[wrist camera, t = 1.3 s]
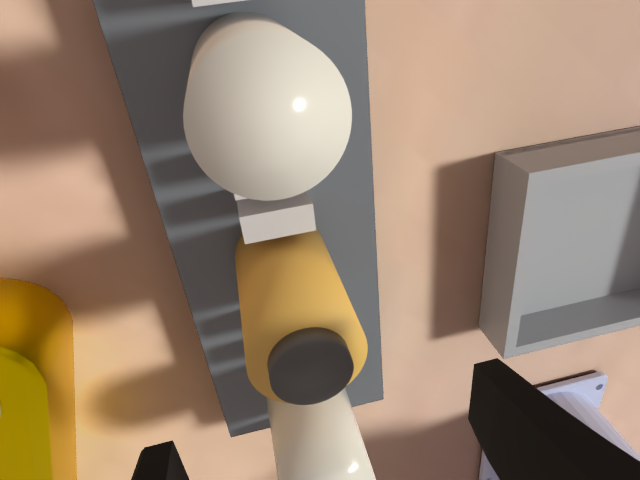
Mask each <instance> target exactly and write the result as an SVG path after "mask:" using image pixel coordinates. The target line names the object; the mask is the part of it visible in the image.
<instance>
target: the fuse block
mask: <svg viewBox="0 0 640 480" xmlns="http://www.w3.org/2000/svg"><path fill="white" fill-rule="evenodd" d="M93 3H94V6H95V9H96V12H97V16H98V19H99V22H100V25H101V28H102V31H103V35H104V38H105V41H106V44H107V47H108V50H109V54H110V57H111V60H112V63H113V66H114V69H115V72H116V76H117V79H118V82H119V85H120V88H121V91H122V95H123V98H124V101H125V104H126V107H127V110H128V114H129V117H130V120H131V123H132V126H133V129H134V133H135V136H136V139H137V142H138V145H139V148H140V152H141V155H142V158H143V161H144V164H145V167H146V170H147V174H148V177H149V180H150V183H151V186H152V189H153V193H154V196H155V199H156V202H157V205H158V208H159V212H160V215H161V218H162V221H163V224H164V227H165V231H166V234H167V237H168V240H169V243H170V246H171V250H172V253H173V256H174V259H175V262H176V265H177V269H178V272H179V275H180V278H181V281H182V284H183V287H184V291H185V294H186V297H187V300H188V303H189V306H190V310H191V313H192V316H193V319H194V322H195V325H196V329H197V332H198V335H199V338H200V341H201V344H202V348H203V351H204V354H205V357H206V360H207V363H208V367H209V370H210V373H211V376H212V379H213V382H214V385H215V389H216V392H217V395H218V398H219V401H220V404H221V408H222V411H223V414H224V417H225V420H226V423H227V427H228V430H229V433H230V436H231V437H234V436H238V435H242V434H246V433H250V432H254V431H258V430H262V429H266V428H270V420H269V413H268V406H267V399H266V396H264V395H262V394H261V393H260V392H259V391H257V390H256V389H255V388H254V386H253V385H252V384H251V382H250V380H249V378H248V375H247V370H246V362H245V352H244V343H243V333H242V323H241V313H240V304H239V294H238V284H237V274H236V265H235V249H236V245H237V242H238V240H239V238H240V237H241V235H242V234H243V238H244V243H245V244H249V243H254V242H259V241H265V240H270V239H275V238H280V237H285V236H290V235H295V234H300V233H305V232H310V231H315V230H316V228H317V230H318V231H319V233H320V235H321V236H322V239H323V241H324V243H325V246H326V248H327V250H328V252H329V255H330V257H331V259H332V261H333V264H334V266H335V268H336V270H337V273H338V275H339V277H340V279H341V282H342V284H343V286H344V288H345V291H346V293H347V295H348V297H349V300H350V302H351V304H352V306H353V309H354V311H355V313H356V315H357V318H358V320H359V322H360V325H361V327H362V329H363V331H364V334H365V336H366V339H367V344H368V352H367V358H366V361H365V364H364V366H363V367H362V369H361V371H360V372H359V374H358V375H357V376H356V377H355V379H354V380H353V381H352V382H351V383H350V384H348V385H347V386H346V387H345V389H346V392H347V395H348V398H349V401H350V404H351V407H354V406H358V405H362V404H366V403H370V402H374V401H378V400H382V399H383V378H382V357H381V336H380V315H379V293H378V272H377V251H376V230H375V209H374V188H373V167H372V145H371V124H370V103H369V82H368V61H367V40H366V19H365V0H93ZM245 11H246V12H255V13H259V14H263V15H265V16H268V17H270V18H272V19H274V20H275V21H277V22H278V23H280V24H282V25H283V26H285V27H286V28H288V29H289V30H291V31H292V32H294V33H295V34H297V35H298V36H300V37H302V38H303V39H305V40H306V41H308V42H309V43H311V44H312V45H314V46H315V47H317V48H318V49H319V50H321V51H322V52H323V53H324V54H325V55H326V56H327V57H328V58H329V59H330V60H331V61H332V62H333V64H334V65H335V66H336V67H337V69H338V70H339V72H340V74H341V76H342V77H343V79H344V81H345V84H346V86H347V89H348V92H349V96H350V100H351V108H352V124H351V132H350V136H349V140H348V143H347V146H346V148H345V151H344V153H343V155H342V157H341V158H340V160H339V162H338V163H337V165H336V166H335V167H334V169H333V170H332V171H331V172H330V173H329V174H328V176H327V177H325V178H324V179H323V180H322V181H321V182H320V183H318V184H317V185H315V186H314V187H313V188H311V189H309V190H307V191H305V192H303V193H301V194H299V195H296V196H293V197H290V198H286V199H281V200H270V201H262V200H254V199H249V198H245V197H241V196H239V195H236V194H233V193H231V192H229V191H228V190H226V189H224V188H222V187H221V186H219V185H218V184H216V183H215V182H214V181H213V180H212V179H211V178H209V177H208V176H207V175H206V174H205V172H204V171H203V170H202V169H201V168H200V166H199V165H198V163H197V162H196V160H195V159H194V157H193V155H192V153H191V151H190V149H189V146H188V143H187V140H186V136H185V131H184V124H183V110H184V101H185V95H186V89H187V83H188V77H189V71H190V66H191V60H192V55H193V51H194V48H195V45H196V43H197V41H198V39H199V37H200V36H201V34H202V33H203V32H204V30H205V29H206V28H207V27H208V26H209V25H210V24H211V23H213V22H214V21H215V20H217V19H219V18H221V17H222V16H225V15H228V14H230V13H235V12H245Z"/></svg>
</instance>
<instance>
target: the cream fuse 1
mask: <svg viewBox="0 0 640 480" xmlns="http://www.w3.org/2000/svg"><path fill="white" fill-rule="evenodd" d="M183 124H184V131H185V136H186V140H187V143H188V146H189V149H190V151H191V153H192V155H193V157H194V159H195V160H196V162H197V163H198V165H199V166H200V168H201V169H202V170H203V171H204V172H205V174H206V175H207V176H208V177H209V178H211V179H212V180H213V181H214V182H215V183H216V184H218V185H219V186H221V187H222V188H224V189H226V190H228V191H229V192H231V193H233V194H236V195H239V196H241V197H245V198H249V199H254V200H262V201H270V200H281V199H286V198H290V197H293V196H296V195H299V194H301V193H303V192H305V191H307V190H309V189H311V188H313V187H314V186H315V185H317V184H318V183H320V182H321V181H322V180H323V179H324V178H325V177H327V176H328V174H329V173H330V172H331V171H332V170H333V169H334V167H335V166H336V165H337V163H338V162H339V160H340V158H341V157H342V155H343V153H344V151H345V148H346V146H347V143H348V140H349V136H350V132H351V124H352V108H351V100H350V96H349V92H348V89H347V86H346V84H345V81H344V79H343V77H342V76H341V74H340V72H339V70H338V69H337V67H336V66H335V65H334V64H333V62H332V61H331V60H330V59H329V58H328V57H327V56H326V55H325V54H324V53H323V52H322V51H321V50H319V49H318V48H317V47H315V46H314V45H312V44H311V43H309V42H308V41H306V40H305V39H303V38H302V37H300V36H298V35H297V34H295V33H294V32H292V31H291V30H289V29H288V28H286V27H285V26H283V25H282V24H280V23H278V22H277V21H275V20H274V19H272V18H270V17H268V16H265V15H263V14H259V13H255V12H246V11H245V12H235V13H230V14H228V15H225V16H222V17H221V18H219V19H217V20H215V21H214V22H213V23H211V24H210V25H209V26H208V27H207V28H206V29H205V30H204V32H203V33H202V34H201V36H200V37H199V39H198V41H197V43H196V45H195V48H194V51H193V55H192V60H191V66H190V71H189V77H188V83H187V89H186V95H185V101H184V110H183Z"/></svg>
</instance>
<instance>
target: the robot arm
mask: <svg viewBox="0 0 640 480" xmlns="http://www.w3.org/2000/svg"><path fill="white" fill-rule="evenodd" d="M607 380H608V377H607V376H606V375H605V374H604V373H603V372H596V373H592V374H588V375H584V376H580V377H576V378H573V379H569V380H565V381H561V382H557V383H553V384H549V385H545V386H542V387H538V388H536V387H534V386H533V385H532V384H530V383H529V382H528V381H526V380H525V379H524V378H523V377H521V376H520V375H519V374H517V373H516V372H515V371H514V370H512V369H511V368H510V367H508V366H507V365H506V364H504V363H503V362H502V361H500V360H499V359H498V358H497V359H493V360H489V361H485V362H481V363H477V364H474V371H473V380H472V389H471V398H470V407H469V416H468V420H469V422H470V424H471V426H472V428H473V430H474V433H475V435H476V437H477V439H478V441H479V443H480V445H481V447H482V457H481V465H480V473H479V480H640V455H639V454H638V453H637V452H636V451H635V450H634V449H633V447H632V446H631V445H630V444H629V443H628V442H627V441H626V440H625V439H624V438H623V436H622V435H621V434H620V433H619V432H618V431H617V430H616V429H615V428H614V426H613V425H612V424H611V423H610V422H609V421H608V420H607V419H606V418H605V416H604V415H603V414H602V413H601V412H600V411H599V410H598V409H599V406H600V403H601V399H602V396H603V393H604V390H605V386H606V383H607ZM131 480H189V478H188V475H187V473H186V471H185V468H184V466H183V464H182V461H181V459H180V456H179V454H178V452H177V449H176V447H175V445H174V442H173V441H169V442H165V443H161V444H157V445H153V446H149V447H145V448H144V449H143V450H142V451H141V453H140V456H139V459H138V462H137V465H136V468H135V471H134V473H133V476H132V479H131Z"/></svg>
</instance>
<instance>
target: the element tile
mask: <svg viewBox="0 0 640 480" xmlns="http://www.w3.org/2000/svg"><path fill="white" fill-rule="evenodd" d="M0 480H77V468H76V428H75V389H74V350H73V320H72V318H71V315H70V312H69V311H68V309H67V307H66V306H65V304H64V302H63V301H62V299H60V298H59V297H58V296H56V295H55V294H54V293H52V292H51V291H50V290H48V289H46V288H44V287H41V286H38V285H35V284H33V283H30V282H26V281H20V280H14V279H4V278H0Z"/></svg>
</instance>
